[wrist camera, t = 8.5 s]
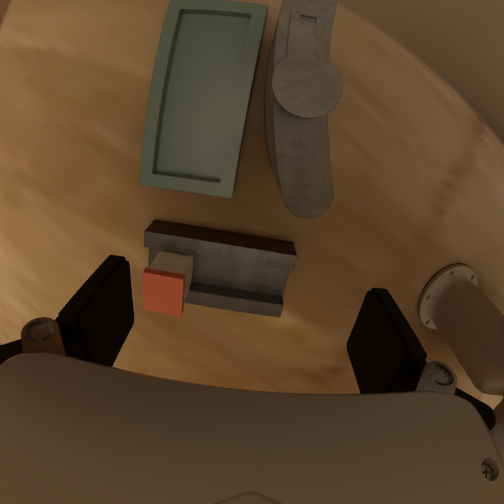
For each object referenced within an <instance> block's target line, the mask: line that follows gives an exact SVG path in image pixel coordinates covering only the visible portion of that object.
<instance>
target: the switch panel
mask: <svg viewBox="0 0 504 504" xmlns="http://www.w3.org/2000/svg"><path fill="white" fill-rule="evenodd" d="M144 247H149V267H150V265H151V263H152V262H153V260H154V259H155V257H156V256H157V254H158V253H159V251H160V250H167V251H173V252H179V253H185V254H191V255H194V259H193V270H192V281H191V284H190V287H189V290H188V293H187V295H186V298H185V301H184V302H185V303H190V304H196V305H202V306H208V307H214V308H220V309H226V310H232V311H239V312H245V313H252V314H259V315H266V316H274V317H280V316H281V312H282V309H283V297H282V296H283V292H284V289H285V285H286V281H287V277H288V274H289V271H293V269H294V266H295V262H296V258H297V254H296V251H295V247H294V244H293V242H288V241H282V240H276V239H271V238H265V237H259V236H253V235H247V234H241V233H235V232H229V231H222V230H216V229H210V228H204V227H198V226H191V225H185V224H179V223H172V222H166V221H159V220H154V221H153V222H152V223H151V224H150V226H149V227H148V228H147V229H146V230H145V231H144Z"/></svg>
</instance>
